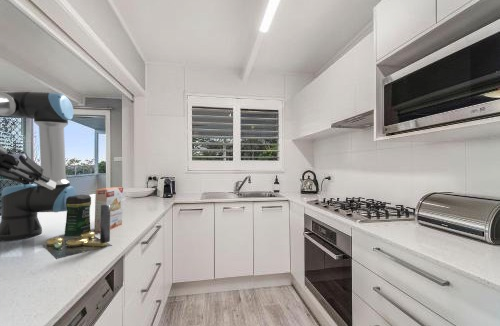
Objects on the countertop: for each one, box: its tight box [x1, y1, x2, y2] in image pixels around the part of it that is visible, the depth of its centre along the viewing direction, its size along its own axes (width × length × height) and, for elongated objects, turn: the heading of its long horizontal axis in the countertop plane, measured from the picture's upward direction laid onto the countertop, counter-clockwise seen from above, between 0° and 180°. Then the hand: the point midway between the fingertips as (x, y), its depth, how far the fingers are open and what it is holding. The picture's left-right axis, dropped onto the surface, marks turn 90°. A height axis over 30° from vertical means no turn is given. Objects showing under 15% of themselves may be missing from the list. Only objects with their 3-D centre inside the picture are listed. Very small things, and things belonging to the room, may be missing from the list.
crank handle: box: [66, 205, 111, 247], centre depth 91 cm, size 17×7×16 cm, turn 81°
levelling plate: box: [41, 230, 113, 260], centre depth 90 cm, size 22×17×3 cm
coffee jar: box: [63, 194, 92, 237], centre depth 106 cm, size 10×8×19 cm
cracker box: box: [93, 186, 124, 233], centre depth 117 cm, size 14×6×21 cm, turn 179°
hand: (54, 186), depth 87 cm, fingers closed
